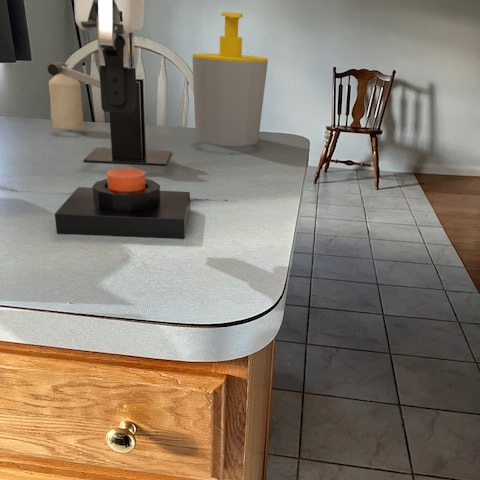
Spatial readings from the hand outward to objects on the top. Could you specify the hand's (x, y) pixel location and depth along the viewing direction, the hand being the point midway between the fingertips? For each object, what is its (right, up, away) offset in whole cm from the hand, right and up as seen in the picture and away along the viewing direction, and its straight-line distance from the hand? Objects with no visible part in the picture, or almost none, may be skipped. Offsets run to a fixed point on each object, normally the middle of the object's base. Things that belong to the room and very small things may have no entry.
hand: (119, 110), depth 55 cm
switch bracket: (-5, +3, +29) cm, 29 cm away
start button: (0, -7, +4) cm, 8 cm away
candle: (-20, +15, +48) cm, 54 cm away
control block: (0, -10, +5) cm, 12 cm away
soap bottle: (+10, +11, +45) cm, 48 cm away
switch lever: (-9, +12, +24) cm, 28 cm away
